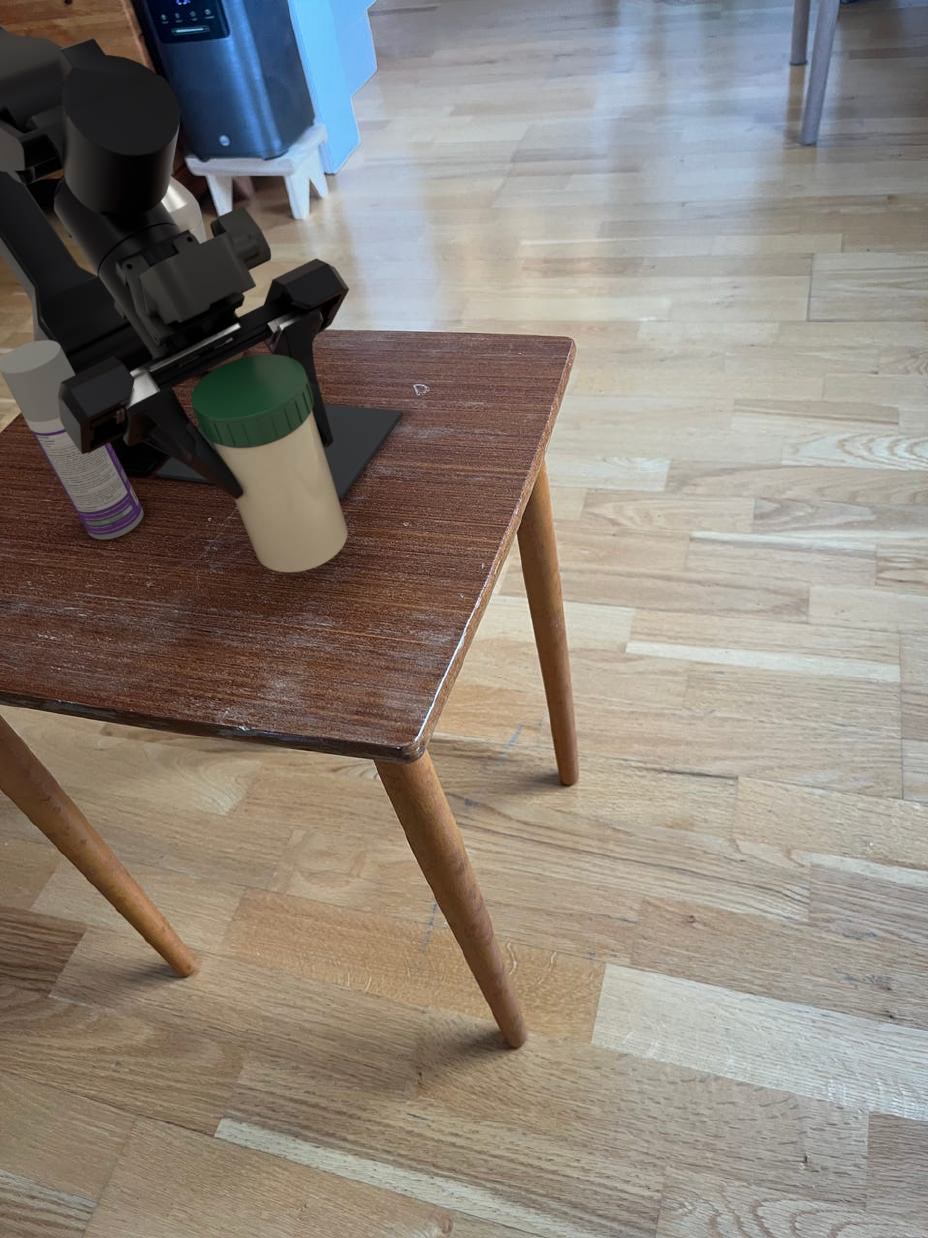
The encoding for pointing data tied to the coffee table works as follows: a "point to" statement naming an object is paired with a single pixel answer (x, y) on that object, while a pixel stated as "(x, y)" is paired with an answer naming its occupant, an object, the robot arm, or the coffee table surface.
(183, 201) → the silver metal bottle
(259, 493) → the jar
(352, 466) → the mat
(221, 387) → the jar lid
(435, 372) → the coffee table surface
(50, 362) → the container
